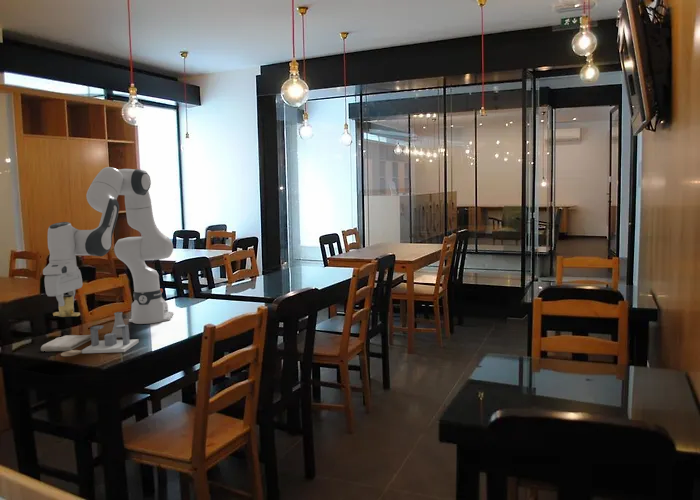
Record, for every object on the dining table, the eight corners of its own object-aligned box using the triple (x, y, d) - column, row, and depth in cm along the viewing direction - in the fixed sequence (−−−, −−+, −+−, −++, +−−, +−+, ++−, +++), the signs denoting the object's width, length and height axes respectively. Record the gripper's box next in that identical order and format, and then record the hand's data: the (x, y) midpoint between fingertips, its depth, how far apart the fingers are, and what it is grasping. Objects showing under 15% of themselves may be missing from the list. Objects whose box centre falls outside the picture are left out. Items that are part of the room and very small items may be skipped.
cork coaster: (66, 351, 222) (66, 350, 222) (84, 350, 222) (84, 349, 222) (57, 356, 215) (56, 355, 215) (75, 356, 215) (75, 355, 215)
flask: (123, 338, 239) (121, 314, 238) (107, 338, 241) (105, 314, 240) (133, 334, 246) (131, 310, 245) (117, 334, 248) (115, 310, 247)
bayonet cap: (58, 313, 220) (57, 293, 219) (82, 314, 219) (81, 294, 218) (50, 316, 215) (49, 296, 214) (75, 317, 214) (74, 296, 213)
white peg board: (98, 343, 233) (96, 322, 232) (138, 342, 232) (137, 321, 231) (81, 353, 219) (79, 331, 218) (124, 352, 218) (122, 329, 217)
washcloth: (93, 340, 241) (92, 332, 240) (71, 352, 223) (70, 344, 222) (64, 341, 241) (64, 333, 241) (40, 353, 223) (39, 345, 223)
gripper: (69, 263, 226) (72, 299, 227) (39, 270, 205) (43, 310, 207) (85, 263, 226) (88, 298, 227) (57, 270, 205) (61, 309, 207)
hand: (66, 304), depth 217 cm, fingers closed on bayonet cap, 5 cm apart
